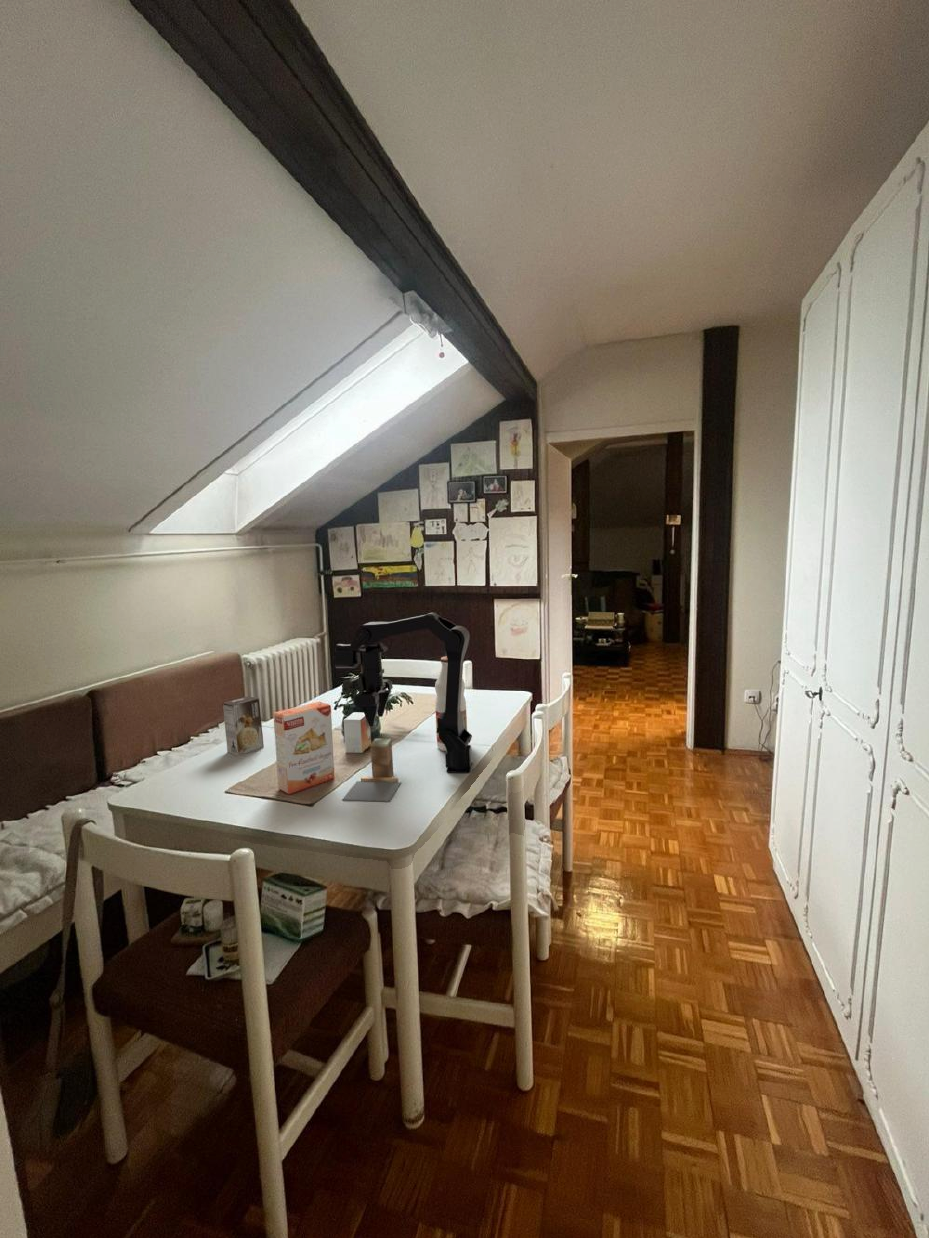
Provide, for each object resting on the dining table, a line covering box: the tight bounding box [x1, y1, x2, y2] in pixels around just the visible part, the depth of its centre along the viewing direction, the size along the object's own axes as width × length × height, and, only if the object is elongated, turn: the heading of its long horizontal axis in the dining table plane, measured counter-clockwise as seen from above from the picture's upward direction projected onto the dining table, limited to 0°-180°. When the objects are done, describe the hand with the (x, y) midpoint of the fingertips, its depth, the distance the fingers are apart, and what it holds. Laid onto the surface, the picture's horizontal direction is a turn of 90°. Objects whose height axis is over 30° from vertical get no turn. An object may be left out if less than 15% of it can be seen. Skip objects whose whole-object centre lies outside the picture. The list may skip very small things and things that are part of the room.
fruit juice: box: [434, 655, 468, 752], centre depth 178 cm, size 9×9×28 cm
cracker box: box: [272, 701, 335, 795], centre depth 154 cm, size 14×6×21 cm, turn 136°
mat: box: [341, 780, 402, 803], centre depth 149 cm, size 12×11×1 cm
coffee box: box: [222, 695, 265, 757], centre depth 182 cm, size 9×6×16 cm
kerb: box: [360, 776, 399, 782], centre depth 155 cm, size 10×1×1 cm, turn 81°
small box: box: [343, 711, 372, 754], centre depth 180 cm, size 8×6×10 cm
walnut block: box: [370, 738, 394, 778], centre depth 158 cm, size 4×4×10 cm
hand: (376, 721), depth 166 cm, fingers open, 9 cm apart
